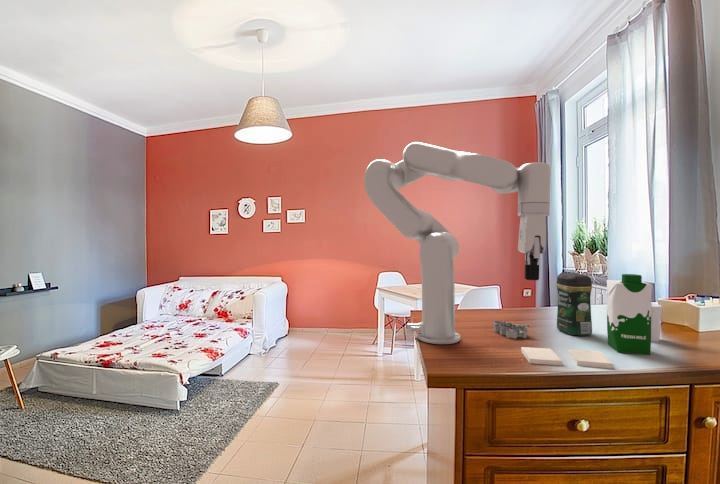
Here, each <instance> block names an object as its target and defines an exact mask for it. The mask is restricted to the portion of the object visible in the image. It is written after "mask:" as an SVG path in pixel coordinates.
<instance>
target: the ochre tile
mask: <svg viewBox="0 0 720 484" xmlns="http://www.w3.org/2000/svg"><path fill="white" fill-rule="evenodd" d="M567 353H568V355H569V354H570V355H569V356H570V357H571V359H572V358H573V359H572V360H573V361H575V362H574V363H575V364H576V365H577V366H581V367H593V368H600V369H601V368H603V369H613V367H614V366H613V363H612V361H610V359H608V358H607V356H605V355H604V354H603V353H602V352H601V351H599V350H597V351H596V350H586V349H584V350H583V349H575V348H574V349H573V348H572V349H571V348H568V349H567Z"/></svg>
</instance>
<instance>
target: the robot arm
mask: <svg viewBox="0 0 720 484" xmlns="http://www.w3.org/2000/svg"><path fill="white" fill-rule="evenodd" d="M427 175H429V176H433V177H436V178H441V179H443V180H446V181H463V182H464V181H465V182H470V183H473V184H478V185H480V186H485V187H487V188H491V189H492V191H493V192H495V193H497V194H499V195H500V194H501V195H502V194H503V195H504V194H505V195H506V194H512V193H517V217H520V218H519V219H520V220H519V221H520V222H519V226H518V227H519V231H518V242H517V243H518V244H517V251H518V252H520V253H522V254H524V280H526V281H539V280H540V262H541V261H540V260H541V259H540V258H541V254H544V253H545V252H546V246H547V245H546V244H547V221H546V217H550V206H551V205H550V201H551V200H550V199H551V167H550V164H548V163H547V162H540V161H539V162H538V161H537V162H527V163H524V164H522V165H521V166H520V167H516V166H515V165H514V164H513V163H511V162H509V161H507V160H504V159H502V158H501V159H500V158H497V157H493V156H488V155H484V154H479V153H475V152H474V153H473V152H472V153H471V152H466V151H459V150H456V149H455V150H453V149H450V148H445V147H441V146H437V145H434V144H429V143H424V142H420V141H414V142H413V141H412V142H411V143H409V144H408V145H406V146H405V148H404V149H403V153H402V160H400V161H399V162H397V163H394V162H392V161H390V160H387V159H381V158H380V159H375V160H373V161H371V162H370V163H369V164H368V166H367V167H366V169H365V172H364V178H363V180H364V181H363V182H364V183H363V184H364V189H365V192H366V195H367V197H368V199H369V200H370V201H371V203H372V204H373V206H374V207H375V208H377V209H378V211H379V212H380V213H381V214H383V216H384V217H385V218H386V219H387V220H388V221H389V222H390V223H391V224H392V225H393V227H395V228H396V229H397V230H398V231H399V233H400V234H402V236H404V237H405V238H407V239H410V240H416V242H418V243H419V244H420V245H419V260H420V267H421V269H420V270H421V322H418V323H414V322H408V323H407V326H406V327H407V330H410V331H411V332H417V333H416V338H417V339H418V340H419V341H422V342H424V343H428V344H433V345H452V344H457V343H458V342H460V341H461V335H460V333H458V332H457V331H456V313H455V311H456V310H455V309H456V305H455V304H456V301H455V299H456V298H455V291H456V290H455V267H454V260H455V259H456V257H457V256H458V255H459V252H460V244H459V241H458V239H457V238H456V237H455V236H454V234H453V233H452V232H450V231H449V230H448V229H447V228H446V227H445V226H444V225H443V224H442V223H441V222H440V221H438V219H436V218H435V217H434V216H433V215H432V214H430V212H428V211H425V210H423V209H420V208H418V207H416V206H415V205H413V204H412V203H411V202H410V200H408V199H407V198H406V197H405V196H404V195H403V194H402V193H401V192H400V191H398V190H400V189H402V188H404V187H407V186H408V185H410V184H411V183H412V184H413V183H415V182H416V181H418V180H419V179H422V178H423V177H426V176H427Z"/></svg>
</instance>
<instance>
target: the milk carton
mask: <svg viewBox="0 0 720 484" xmlns="http://www.w3.org/2000/svg"><path fill="white" fill-rule="evenodd" d="M642 279H643V278H642V275H641V274H635V273H633V274H632V273H623V274H621V280H620V279H619V280H618V279H615V280H614V279H606V328H607V329H606V330H607V332H606V333H607V344H608V345H609V347H610V348H612V349H614V350H615V352H617V353H624V354H625V353H626V354H636V355H646V356H647V355H648V356H650V355H651V351H652V349H651V346H652V342H651V303H652V293H653V284H652V283H649V282H646V281H644V280H642Z"/></svg>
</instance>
